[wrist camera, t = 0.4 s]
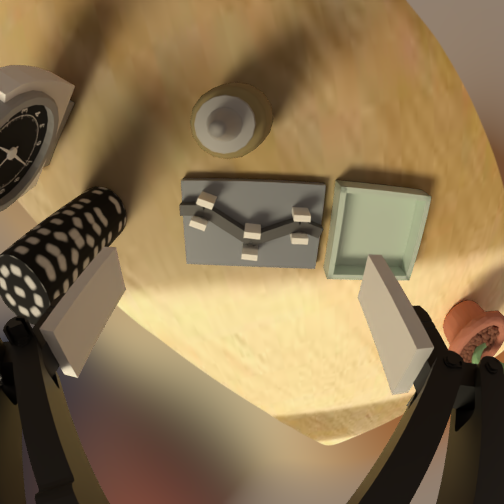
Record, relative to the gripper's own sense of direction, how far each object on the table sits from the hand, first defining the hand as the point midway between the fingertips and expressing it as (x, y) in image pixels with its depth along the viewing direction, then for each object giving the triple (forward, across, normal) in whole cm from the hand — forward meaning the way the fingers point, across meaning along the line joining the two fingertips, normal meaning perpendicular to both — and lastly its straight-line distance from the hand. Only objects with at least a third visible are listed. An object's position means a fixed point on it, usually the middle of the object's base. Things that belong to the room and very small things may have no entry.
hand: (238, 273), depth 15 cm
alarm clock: (+25, -30, +7) cm, 40 cm away
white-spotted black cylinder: (+25, -22, -7) cm, 34 cm away
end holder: (+24, +17, -8) cm, 31 cm away
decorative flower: (+24, +41, -25) cm, 54 cm away
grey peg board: (+24, 0, -8) cm, 26 cm away
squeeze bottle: (+25, -2, +6) cm, 26 cm away
